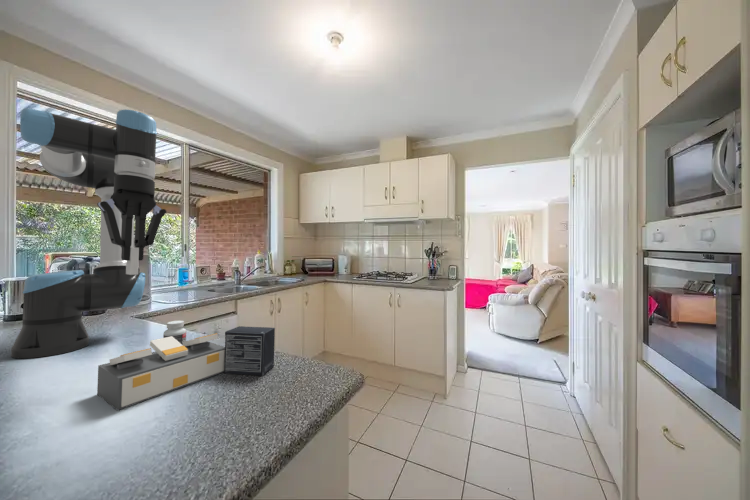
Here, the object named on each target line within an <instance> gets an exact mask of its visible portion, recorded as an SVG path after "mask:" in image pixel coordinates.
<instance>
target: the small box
mask: <svg viewBox="0 0 750 500" xmlns="http://www.w3.org/2000/svg"><path fill="white" fill-rule="evenodd" d="M275 330H276V328H275V327H265V326H263V327H262V326H245V325H244V326H240V325H239V326H236V327H234V328H231V329H229V330H226V331H225V332H224V337H225V338H224V341H225V343H224V347H225V362H224V363H225V364H224V372H223V373H224V374H226V375H227V374H229V375H246V376H261V377H262V376H264V375H265V374H266V373H268V372H269V371H270V370H272V368H274V367H275V337H276V336H275V334H276V333H275Z"/></svg>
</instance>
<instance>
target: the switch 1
mask: <svg viewBox="0 0 750 500" xmlns="http://www.w3.org/2000/svg"><path fill="white" fill-rule="evenodd" d="M152 352H153V351H152V347H151V348H144V349H141V350H137V351H133V352H129V353H124V354H121V355H119V356H117V357H113V358H110V359H109V363H110V365H114V364H118V363H122V362H126V361H130V360H134V359H138V358H141V357H145V356H149V355H152Z"/></svg>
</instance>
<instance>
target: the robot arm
mask: <svg viewBox="0 0 750 500" xmlns="http://www.w3.org/2000/svg"><path fill="white" fill-rule="evenodd" d="M19 117H20V119H19V120H20V121H19V124H20V125H19V126H20V127H19V128H20V136H21V139H23V141H24V142H27V143H29V144H30V143H31V144H35V145H38V146H40V149H41V151H40V154H39V162H40V164H41V166H42V167H43V169H44V170H45V171H46V172H47V173H49V174H50V175H52V176H54V177H55V178H57V179H59V180H61V181H63V182H66V183H68V184H71V185H75V186H78V187H83V188H89V189H90V188H91V189H94V192H95V193H94V194H95V195H96V196H98V197H99V198H100V200H101V201H100V202H99V201H98V202H97V204H96V206H97V207H98V208H99V210H100V236H99V237H100V240H99V241H100V244H99V248H100V249H99V264H98V265H97V266H95V267H94V268H93V269H92V271H93V272H92V273H91V274H89V273H87V274H86V273H85V272H84V270H83V269H74V270H61V271H54V272H46V273H45V272H43V273H38V274H33V275H30V276H28V277H27V278H26V279H25V281H24V286H23V291H22V294H23V306H22V307H23V308H22V327H21V328H20V331H19V332H18V335H17V337H16V338H15V341H14V342H13V344H12V346H11V348H10V349H11V350H10V357H11V358H13V359H14V358H15V359H34V358H41V357H42V358H43V357H50V356H55V355H60V354H65V353H70V352H74V351H78V350H81V349H82V348H85V347H87V346H88V345H89V343H90V336H89V334H88V332H87V329H86V328H85V325H84V323H83V312H91V311H99V310H111V309H123V308H132V307H135V306H138V305H139V304H140V303H141V301H142V298H143V295H144V292H145V286H146V273H145V272H140V269H141V268H140V266H139V265H140V264H139V262H140V261H143V260H144V253H145V251H144V250H145V248H146V247H148V246H153V244H154V242H155V239H156V237H157V233H158V231H159V227H160V223H161V221H162V218H163V217H164V216H165V215H166V214H167V209H165V208H161V207H160V206H158V205H157V202H156V200H155V194H156V193H155V191H156V190H155V189H156V183H155V180H154V179H156V153H157V152H156V149H157V135H158V132H157V122H156V120H155V119H154V118H153V117H152V116H150V115H149V114H146V113H143V112H140V111H136V110H135V109H134V110H133V109H120V110H118V111H117V113H116V118H115V128H110V127H106V126H102V125H99V124H95V123H90V122H86V121H82V120H79V119H75V118H71V117H67V116H65V115H64V116H63V115H59V114H56V113H52V112H49V111H46V110H45V111H44V110H38V109H33V108H30V107H29V108H26V107H25V108H23V109H22V110H21V112H20V116H19ZM151 211H152V216H151V219H150V222H149V224H148V228H147V231H146V220H147V216H148V214H149V213H150V212H151ZM134 221H135V222H134Z"/></svg>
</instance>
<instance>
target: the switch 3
mask: <svg viewBox="0 0 750 500" xmlns="http://www.w3.org/2000/svg"><path fill="white" fill-rule="evenodd" d="M217 339H218V340H219V334H218V333H217V332H216V333H212V334H208V335H204V336H199V337H195V338H193V339H189V340H186V341H184V342H183V346H189V345H193V344H198V343H202V342H206V341H208V342H211V341H214V340H217Z"/></svg>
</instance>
